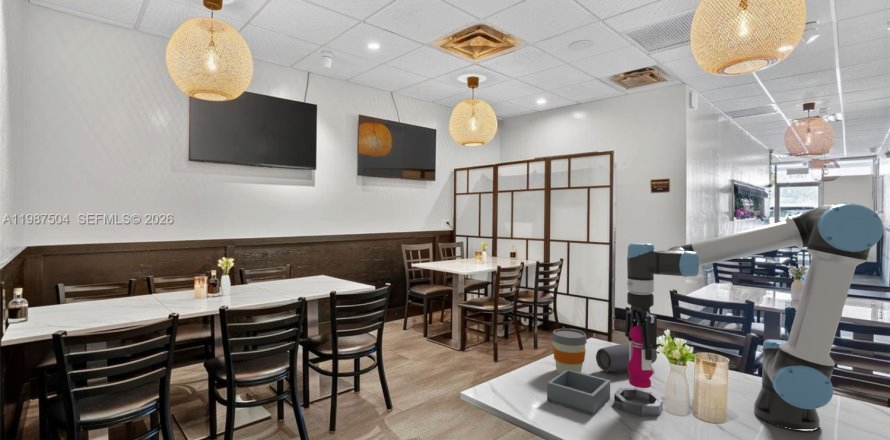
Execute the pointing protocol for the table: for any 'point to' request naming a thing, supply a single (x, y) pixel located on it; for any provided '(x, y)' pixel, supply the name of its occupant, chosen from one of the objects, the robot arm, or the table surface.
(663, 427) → the table surface
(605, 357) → the bluetooth speaker
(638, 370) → the pepper mill
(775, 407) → the robot arm
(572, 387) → the bin
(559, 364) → the reusable coffee cup
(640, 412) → the collar
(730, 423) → the table surface
